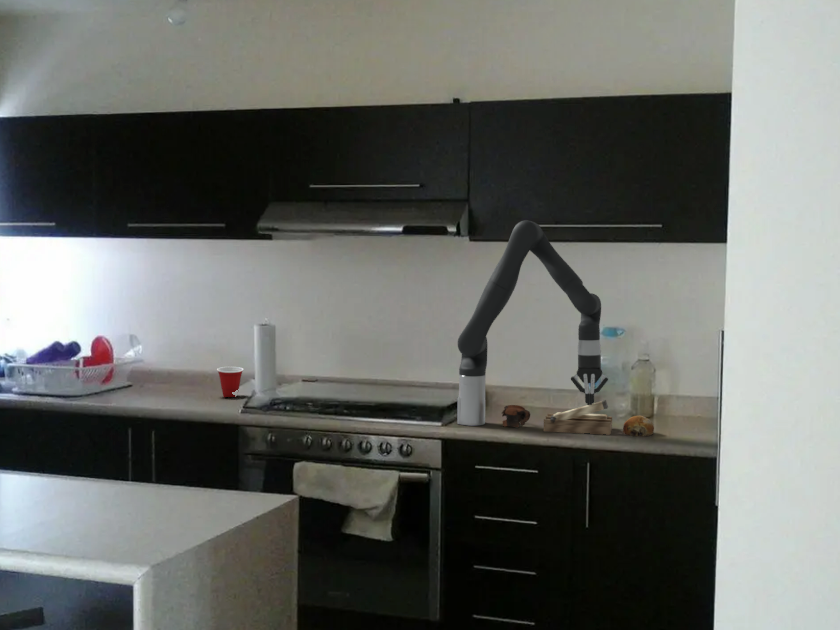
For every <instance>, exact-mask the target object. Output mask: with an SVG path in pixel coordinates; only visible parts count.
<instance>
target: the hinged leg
mask: <svg viewBox="0 0 840 630" xmlns="http://www.w3.org/2000/svg"><path fill="white" fill-rule="evenodd" d="M608 408H609V405H608V402H607V400H606V399H603V400H601V401H597V402H594V403H592V405H587V404H586V405H584V406H583V405H582V406H579V407H576V408H573V409H568V410H566V411H563V412H562V411H561V412H562V413H558V414H556V413H553V414H554V415H552V416H551V418H555V420H568V419H572V418H575V417H579V416H582V415H586V414H594V413H596V412H599V411H602V410H607V409H608ZM551 418H550V419H551Z"/></svg>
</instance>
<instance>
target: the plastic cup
mask: <svg viewBox="0 0 840 630" xmlns="http://www.w3.org/2000/svg"><path fill="white" fill-rule="evenodd" d="M216 371H217V372H218V377H219V381H220V386H221V392H222V396H223V397H222V398H225V397H235V395H233V394H232V392H235V391H236V390H238V389H240V383H241V377H242V374H243V371H244V368H243V367H239V366H221V367H218V368H216ZM238 391H239V390H238ZM235 398H236V397H235Z"/></svg>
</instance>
